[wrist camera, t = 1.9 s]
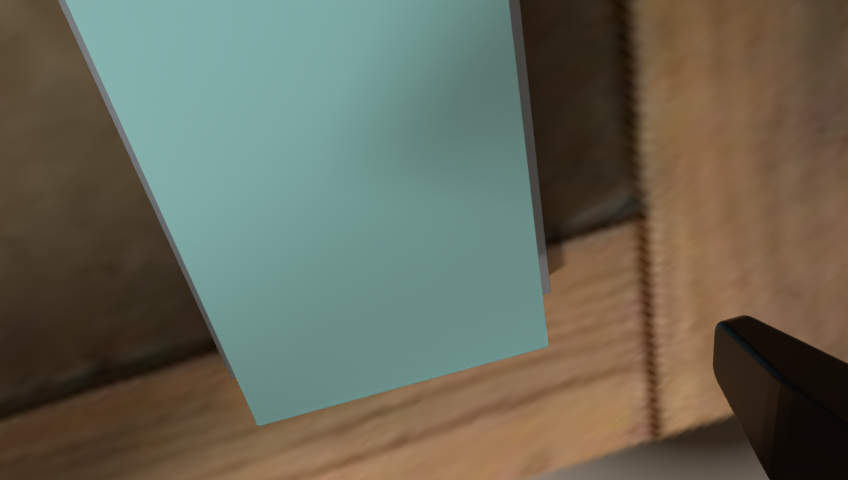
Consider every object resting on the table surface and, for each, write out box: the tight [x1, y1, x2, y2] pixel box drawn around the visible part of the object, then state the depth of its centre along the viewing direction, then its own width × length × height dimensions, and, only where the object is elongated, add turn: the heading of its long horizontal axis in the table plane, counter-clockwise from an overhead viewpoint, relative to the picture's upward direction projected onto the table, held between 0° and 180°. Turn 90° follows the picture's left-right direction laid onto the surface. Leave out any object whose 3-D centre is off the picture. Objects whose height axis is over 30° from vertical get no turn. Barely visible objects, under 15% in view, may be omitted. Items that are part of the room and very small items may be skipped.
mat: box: [58, 0, 551, 379], centre depth 18 cm, size 12×9×1 cm
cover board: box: [65, 0, 548, 426], centre depth 16 cm, size 10×7×3 cm
